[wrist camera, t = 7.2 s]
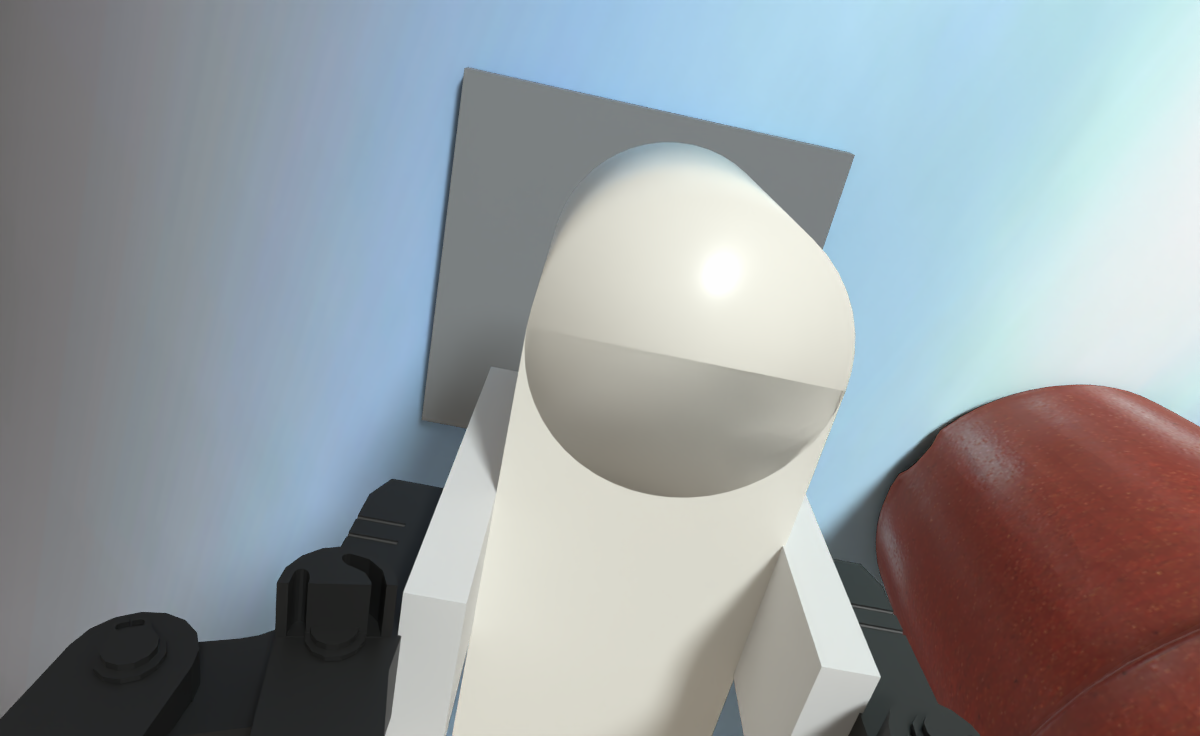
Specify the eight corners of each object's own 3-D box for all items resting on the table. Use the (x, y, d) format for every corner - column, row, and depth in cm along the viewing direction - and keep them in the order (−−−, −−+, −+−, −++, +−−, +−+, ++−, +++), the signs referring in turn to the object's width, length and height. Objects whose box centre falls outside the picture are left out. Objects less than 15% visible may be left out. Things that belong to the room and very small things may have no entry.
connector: (576, 118, 13) (557, 158, 9) (807, 170, 14) (905, 234, 9) (474, 658, 19) (429, 857, 14) (642, 686, 19) (651, 890, 14)
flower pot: (1025, 732, 33) (1351, 1287, 18) (730, 571, 30) (839, 1090, 15) (1356, 470, 27) (2225, 977, 12) (1034, 233, 24) (1700, 542, 9)
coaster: (468, 67, 22) (464, 68, 22) (848, 152, 23) (854, 155, 22) (425, 412, 27) (421, 420, 26) (740, 472, 28) (743, 481, 27)
